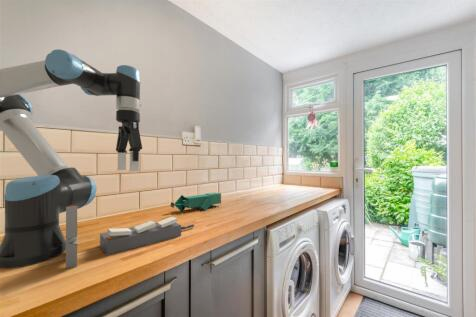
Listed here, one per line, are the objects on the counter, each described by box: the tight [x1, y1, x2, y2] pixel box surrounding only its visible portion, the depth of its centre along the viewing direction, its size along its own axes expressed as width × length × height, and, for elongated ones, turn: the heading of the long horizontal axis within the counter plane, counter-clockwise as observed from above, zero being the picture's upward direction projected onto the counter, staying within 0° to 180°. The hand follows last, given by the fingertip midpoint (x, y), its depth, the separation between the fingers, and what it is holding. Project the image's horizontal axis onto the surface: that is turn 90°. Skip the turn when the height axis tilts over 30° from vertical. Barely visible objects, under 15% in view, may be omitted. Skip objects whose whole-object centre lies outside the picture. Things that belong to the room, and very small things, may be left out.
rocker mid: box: [133, 220, 156, 233], centre depth 73 cm, size 6×4×1 cm, turn 133°
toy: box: [170, 191, 222, 212], centre depth 124 cm, size 12×10×30 cm
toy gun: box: [65, 205, 78, 270], centre depth 61 cm, size 2×16×15 cm
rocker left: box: [106, 227, 132, 236], centre depth 68 cm, size 6×4×1 cm, turn 133°
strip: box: [99, 221, 195, 256], centre depth 78 cm, size 32×10×4 cm, turn 133°
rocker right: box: [157, 216, 178, 228], centre depth 79 cm, size 6×4×1 cm, turn 133°
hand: (127, 170), depth 76 cm, fingers open, 13 cm apart
